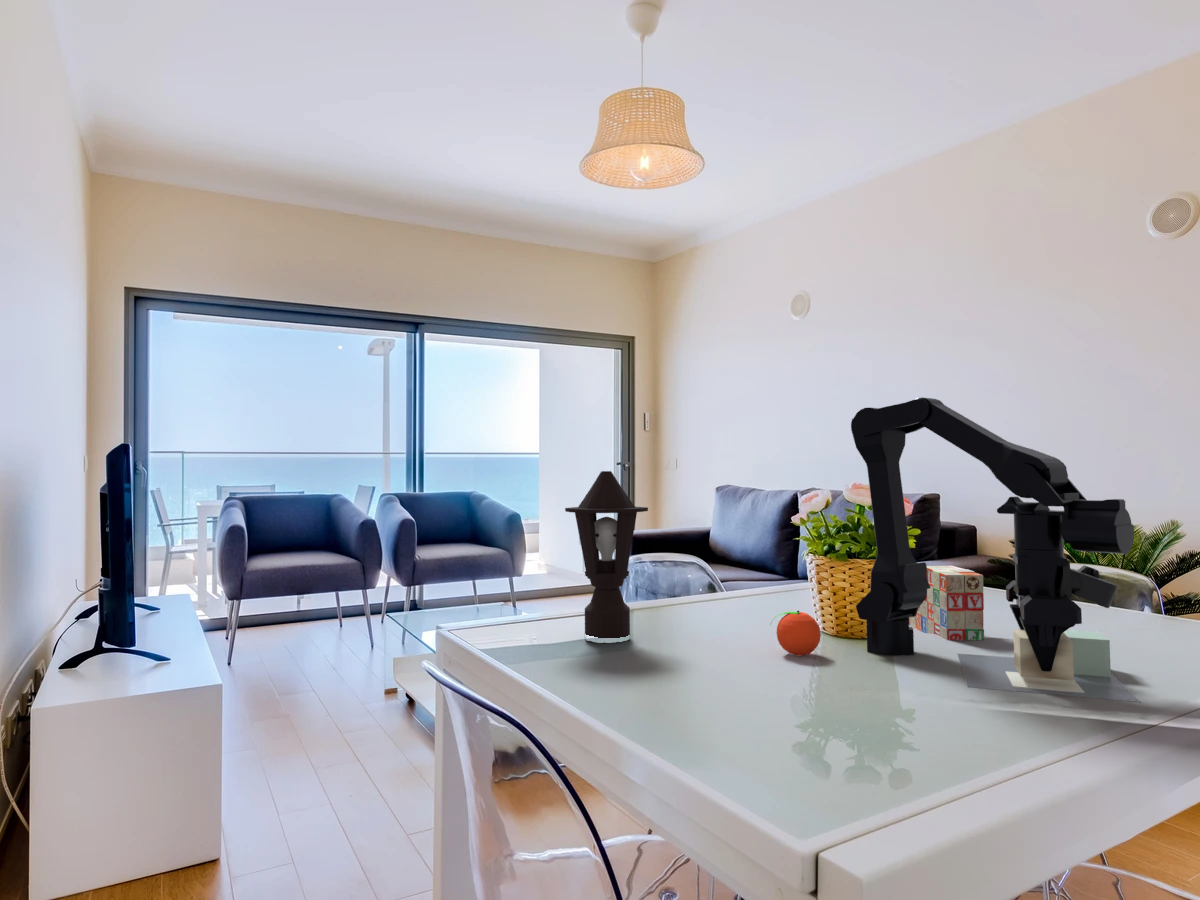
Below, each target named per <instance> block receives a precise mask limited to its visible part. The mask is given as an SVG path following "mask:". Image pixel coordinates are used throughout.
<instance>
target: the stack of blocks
mask: <svg viewBox="0 0 1200 900" xmlns="http://www.w3.org/2000/svg"><path fill="white" fill-rule="evenodd" d="M926 566H927V580H928V583H929V585H930V589H927V597H926V600H924V602H923V603H922V604H921V605H920V606H919V608H918V611H917V614H916V616H915V617H909V626H910V627H912V628H915V629H916V628H917V629H916V630H918V631H920V632H922V633H924V634H933V635H934V634H935V635H937V636H939V637H940V638H942V639H945V640H946V641H985V628H984V610H985V603H984V602H985V601H984V575H983V574H982V573H981V574H980V573H978V572H976V571H974V570H972V569H971V570H970V569H967V568H962V567H959V566H955V565H926Z"/></svg>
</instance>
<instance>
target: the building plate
mask: <svg viewBox="0 0 1200 900" xmlns="http://www.w3.org/2000/svg"><path fill="white" fill-rule="evenodd" d="M957 657H958V661H959V664H960V667H961V670H962V673H963V677H964V680H965V683H966V686H967V688H970V689H971V688H973V689H981V690H982V689H986V690H995V691H1005V692H1008V691H1009V692H1017V693H1018V692H1020V693H1031V694H1041V695H1042V694H1043V695H1053V696H1055V695H1056V696H1065V697H1078V698H1085V699H1086V698H1089V699H1100V700H1110V701H1121V702H1122V701H1123V702H1131V703H1132V702H1133V703H1134V702H1135V703H1142V702H1141V700H1140V699H1138V698H1137V696H1136V695H1134V694H1133V693H1132V692H1131V691H1130V690H1129V689H1128V688H1127V687H1126V686H1125V685H1124V684H1123V683H1122V682H1121V681H1120V680H1119V679H1117V678H1116V677H1115V676H1114V675H1113V674H1112V673H1111V677H1104V676H1091V675H1078V674H1074V681H1071V680H1058V679H1046V678H1034V677H1021V676H1020V674H1019V673H1018V671H1017V669H1016V667H1015V666H1014V657H1011V656H997V655H986V654H985V655H982V654H969V653H957Z"/></svg>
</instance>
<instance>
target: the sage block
mask: <svg viewBox="0 0 1200 900" xmlns="http://www.w3.org/2000/svg"><path fill="white" fill-rule="evenodd" d="M1063 633H1064V634H1065V635H1066V636H1067V637H1068V638H1069V639H1070V640H1071V641H1073V671H1074V674H1078V675H1091V676H1104V677H1111V674H1112V673H1111V643H1110V641H1111V640H1110V639H1109V638H1108V637H1106V636H1105V635H1104V634H1103V633H1101V632H1100V631H1093V630H1092V631H1091V630H1077V629H1067V630H1066V631H1065V632H1063Z"/></svg>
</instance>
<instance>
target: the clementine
mask: <svg viewBox="0 0 1200 900" xmlns="http://www.w3.org/2000/svg"><path fill="white" fill-rule="evenodd" d="M781 615H784V616H782V617H781V619H780V620H779V621H778V623H777V625H776V638H777V641H778V643H779V645H780V647H781V648H782V649H783V650H784V651H786V652H787V654H791V655H793V656H798V657H799V656H800V657H801V656H806V655H809V654H811V653H812V652H814V651H815V650H816V649H817V647H818V646H819V644H820V642H821V638H822V637H821V636H822V635H821V628H820V626H819V624H818V622H817V621H816V620H815V618H814V617H813V616H811V615H810V614H809V613H806V612H802V611H800V610H797V611H786V612H782V613H780V614H777V615H776V616H775V617H773V619H772V620H771V622H770V624H769V626H771V624H772V622H773V620H774V619H776V618H778V617H779V616H781Z"/></svg>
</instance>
